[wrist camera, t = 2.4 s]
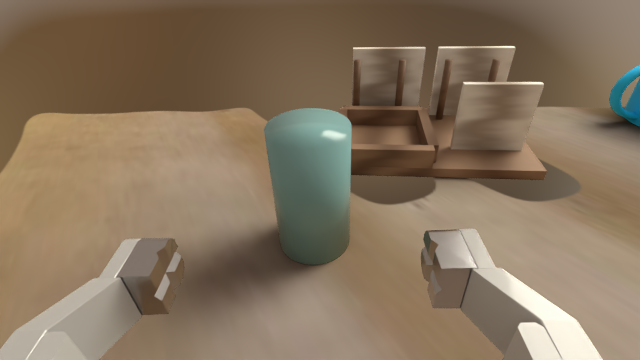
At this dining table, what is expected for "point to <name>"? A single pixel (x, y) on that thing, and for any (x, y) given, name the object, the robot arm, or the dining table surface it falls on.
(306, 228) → the teal glossy cylinder
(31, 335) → the robot arm
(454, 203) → the dining table surface
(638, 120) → the mug
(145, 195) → the dining table surface
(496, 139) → the rack
